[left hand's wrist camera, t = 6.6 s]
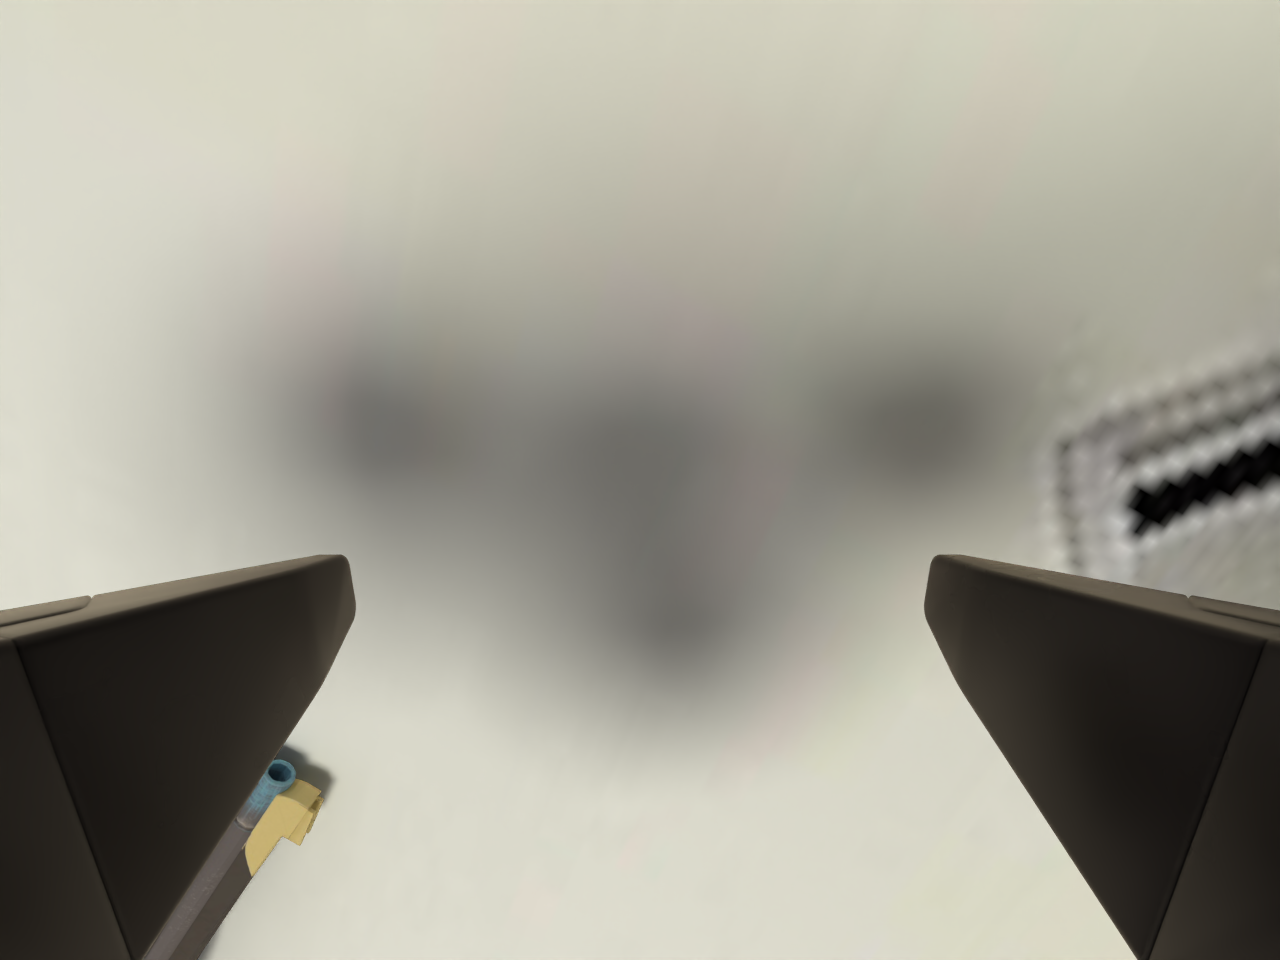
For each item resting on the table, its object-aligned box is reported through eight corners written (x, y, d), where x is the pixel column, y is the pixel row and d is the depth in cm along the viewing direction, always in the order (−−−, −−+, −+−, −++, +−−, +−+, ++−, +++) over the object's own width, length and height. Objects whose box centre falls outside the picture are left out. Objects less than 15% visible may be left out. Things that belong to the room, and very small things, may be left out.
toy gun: (-224, 1064, 24) (48, 1207, 25) (-13, 639, 20) (308, 833, 21) (-135, 988, 27) (108, 1121, 28) (69, 598, 22) (350, 772, 23)
